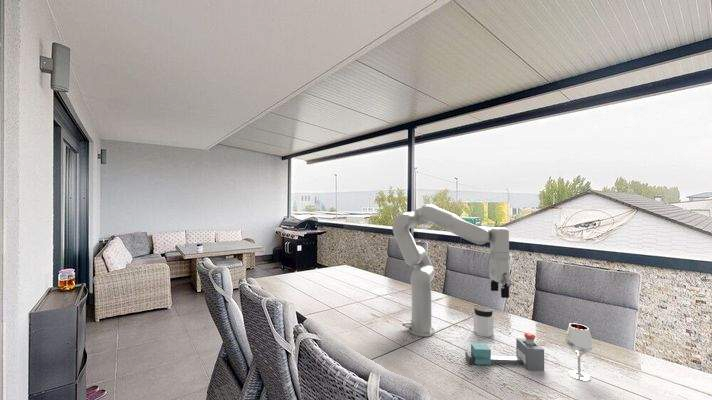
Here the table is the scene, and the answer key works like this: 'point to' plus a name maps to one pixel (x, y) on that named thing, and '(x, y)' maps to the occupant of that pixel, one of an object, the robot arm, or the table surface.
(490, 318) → the jar
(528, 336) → the plunger
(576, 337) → the wineglass
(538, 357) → the housing
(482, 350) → the carriage
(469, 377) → the table surface
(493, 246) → the robot arm
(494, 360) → the rail
